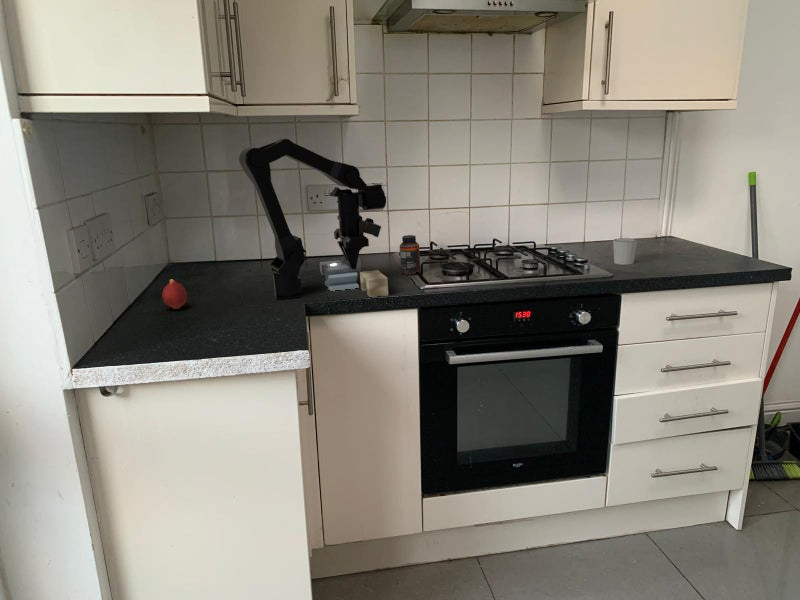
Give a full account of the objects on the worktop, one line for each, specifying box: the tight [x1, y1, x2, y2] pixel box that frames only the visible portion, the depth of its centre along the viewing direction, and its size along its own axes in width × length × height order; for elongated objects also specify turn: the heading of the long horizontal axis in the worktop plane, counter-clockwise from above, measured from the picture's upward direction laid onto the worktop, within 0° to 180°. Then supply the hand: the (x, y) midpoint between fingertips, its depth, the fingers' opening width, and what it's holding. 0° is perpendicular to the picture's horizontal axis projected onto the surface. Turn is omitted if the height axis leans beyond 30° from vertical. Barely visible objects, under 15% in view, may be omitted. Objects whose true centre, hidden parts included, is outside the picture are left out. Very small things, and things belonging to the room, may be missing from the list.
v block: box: [324, 271, 360, 292], centre depth 165 cm, size 8×9×4 cm
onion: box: [161, 279, 188, 310], centre depth 149 cm, size 6×6×8 cm
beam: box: [359, 269, 389, 298], centre depth 157 cm, size 5×10×5 cm, turn 16°
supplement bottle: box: [399, 234, 421, 276], centre depth 176 cm, size 6×6×11 cm
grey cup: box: [612, 237, 638, 266], centre depth 178 cm, size 7×7×7 cm
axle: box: [319, 257, 362, 276], centre depth 164 cm, size 11×4×4 cm, turn 106°
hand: (352, 267), depth 165 cm, fingers closed on axle, 3 cm apart
